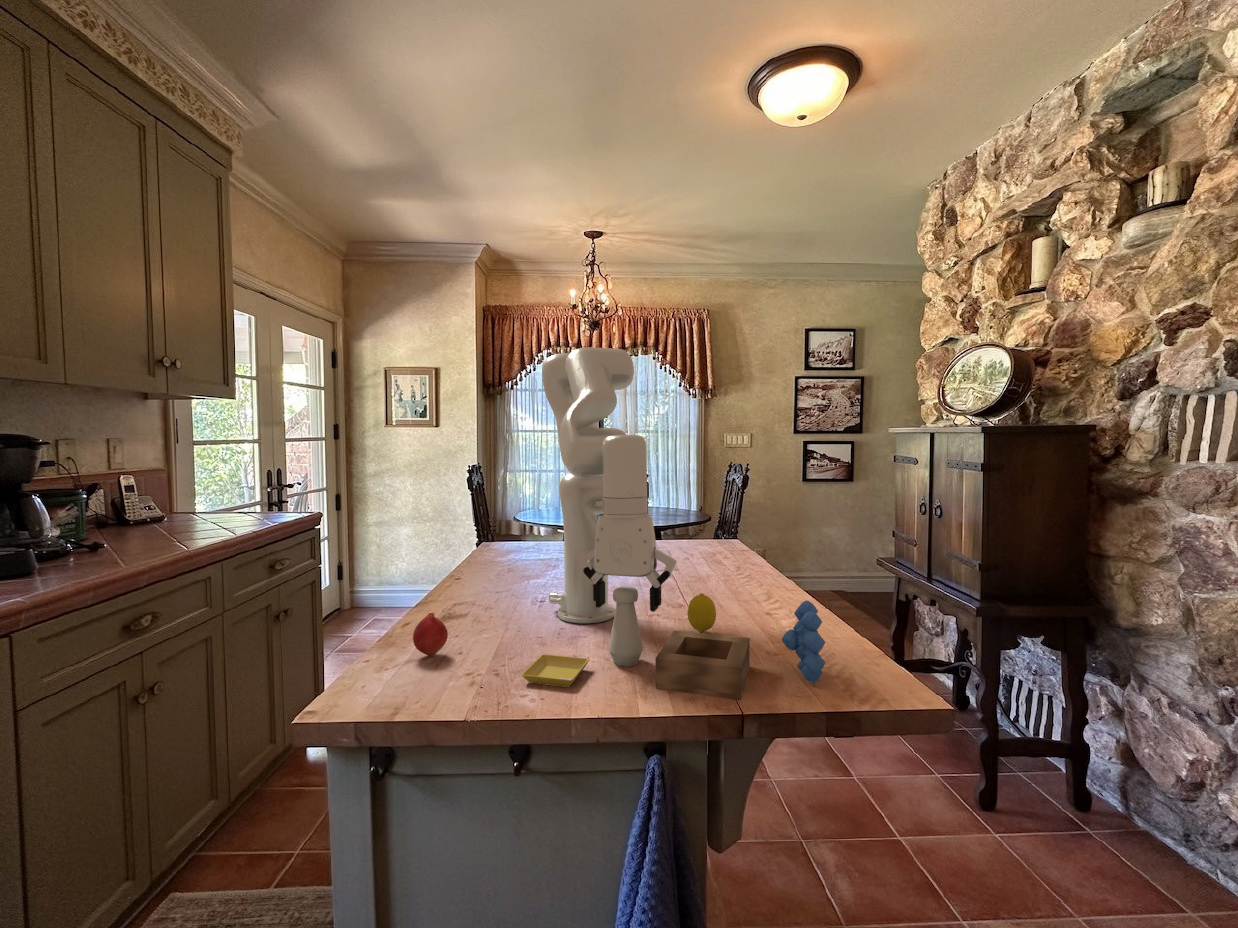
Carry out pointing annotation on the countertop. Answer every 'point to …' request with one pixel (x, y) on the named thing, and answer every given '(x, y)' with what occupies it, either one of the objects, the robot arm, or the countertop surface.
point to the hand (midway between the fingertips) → (627, 607)
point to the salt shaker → (625, 628)
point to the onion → (430, 635)
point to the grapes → (807, 641)
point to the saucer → (555, 670)
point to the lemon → (701, 613)
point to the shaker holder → (703, 664)
